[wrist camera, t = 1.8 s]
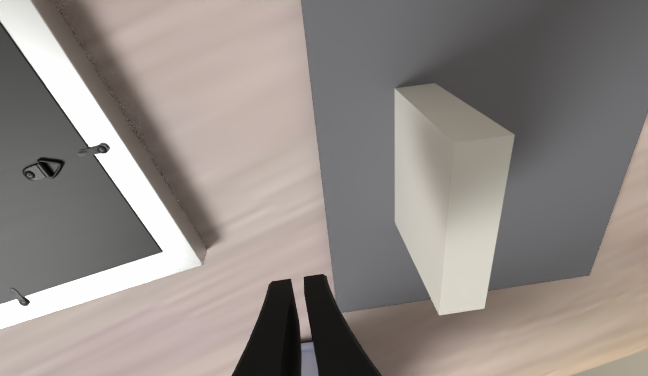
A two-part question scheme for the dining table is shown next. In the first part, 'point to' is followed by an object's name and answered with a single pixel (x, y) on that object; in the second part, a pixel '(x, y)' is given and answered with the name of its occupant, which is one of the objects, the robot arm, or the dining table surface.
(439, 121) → the tile
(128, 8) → the dining table surface
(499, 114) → the mat
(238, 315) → the dining table surface
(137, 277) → the picture frame
